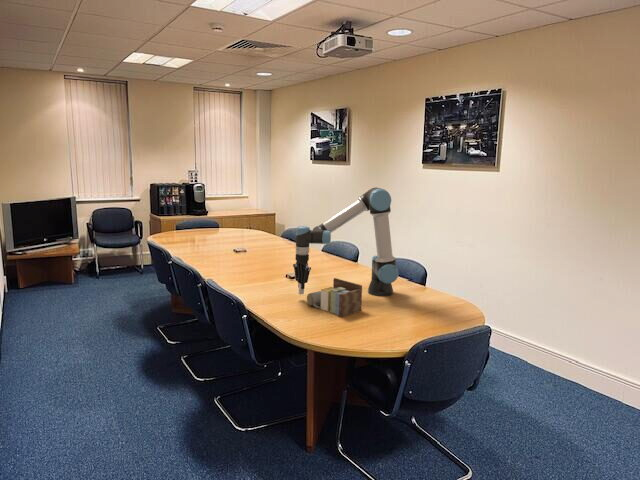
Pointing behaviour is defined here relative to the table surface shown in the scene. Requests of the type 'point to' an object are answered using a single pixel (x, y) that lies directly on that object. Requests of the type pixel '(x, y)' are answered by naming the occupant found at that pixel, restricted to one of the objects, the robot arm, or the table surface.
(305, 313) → the table surface
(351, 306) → the brown wooden box
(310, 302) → the ceramic mug
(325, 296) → the ochre book
